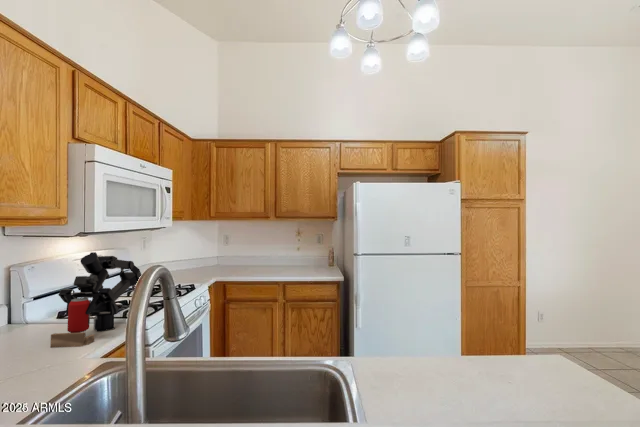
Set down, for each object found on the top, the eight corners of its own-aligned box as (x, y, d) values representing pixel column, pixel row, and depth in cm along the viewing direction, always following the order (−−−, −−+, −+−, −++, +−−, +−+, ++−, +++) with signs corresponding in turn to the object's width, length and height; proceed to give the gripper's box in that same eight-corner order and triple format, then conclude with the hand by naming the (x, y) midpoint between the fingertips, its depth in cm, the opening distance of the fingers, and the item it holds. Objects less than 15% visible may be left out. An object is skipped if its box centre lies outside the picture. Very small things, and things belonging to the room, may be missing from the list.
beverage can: (93, 329, 129) (94, 297, 129) (79, 334, 122) (80, 300, 123) (77, 328, 129) (78, 297, 130) (62, 333, 122) (64, 300, 123)
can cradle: (60, 342, 124) (60, 330, 125) (94, 341, 125) (94, 329, 125) (48, 347, 119) (48, 334, 119) (84, 346, 119) (84, 333, 120)
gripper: (62, 268, 131) (39, 302, 119) (111, 267, 132) (93, 301, 120) (75, 285, 138) (54, 319, 126) (121, 284, 139) (105, 317, 127)
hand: (76, 314), depth 125 cm, fingers closed on beverage can, 7 cm apart
